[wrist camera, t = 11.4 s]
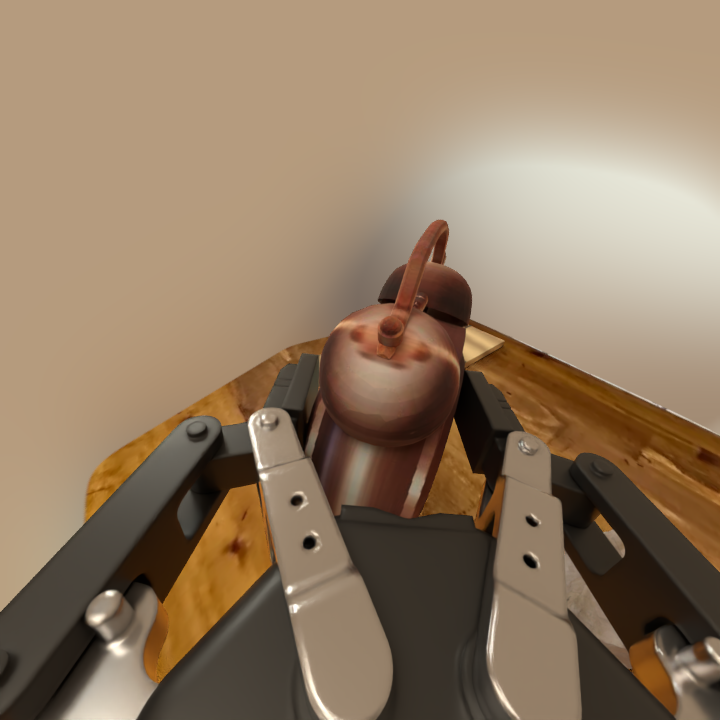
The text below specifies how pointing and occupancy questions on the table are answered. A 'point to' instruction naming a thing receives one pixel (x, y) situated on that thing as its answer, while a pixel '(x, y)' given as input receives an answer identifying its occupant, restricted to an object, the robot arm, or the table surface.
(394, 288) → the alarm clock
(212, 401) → the table surface
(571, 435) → the table surface
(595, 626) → the stone
